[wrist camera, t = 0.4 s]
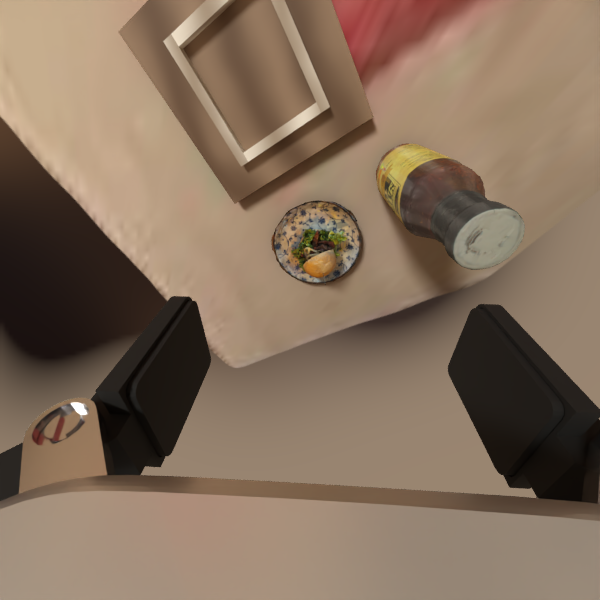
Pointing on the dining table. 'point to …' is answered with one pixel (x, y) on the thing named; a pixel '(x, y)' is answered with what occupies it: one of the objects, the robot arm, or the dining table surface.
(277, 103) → the walnut board
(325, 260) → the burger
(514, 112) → the dining table surface
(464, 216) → the sauce bottle
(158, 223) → the dining table surface
